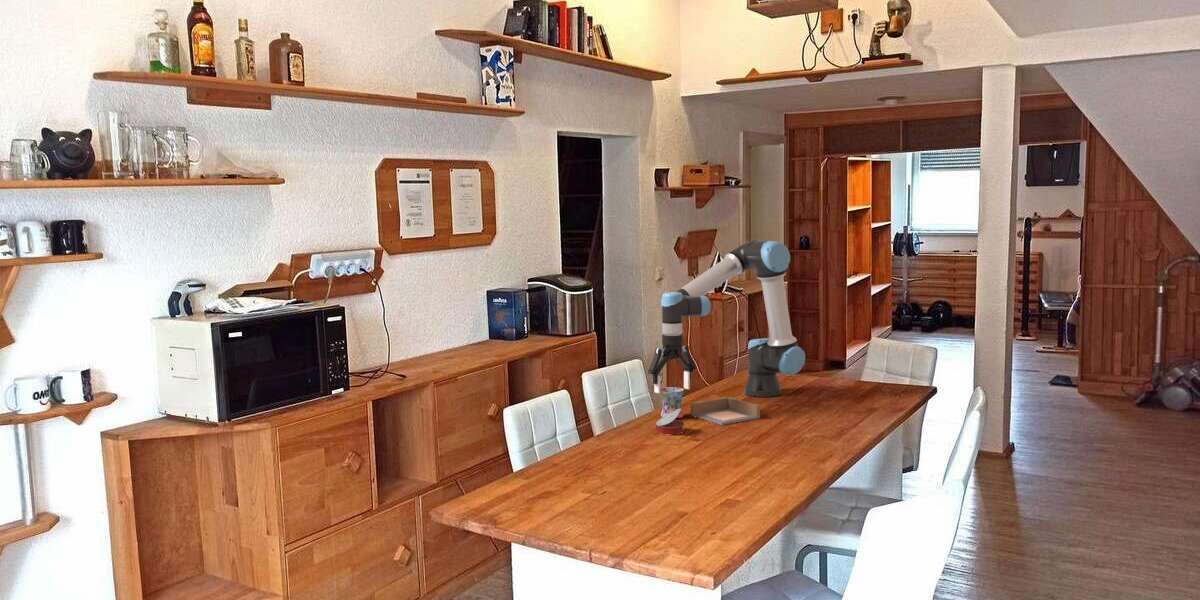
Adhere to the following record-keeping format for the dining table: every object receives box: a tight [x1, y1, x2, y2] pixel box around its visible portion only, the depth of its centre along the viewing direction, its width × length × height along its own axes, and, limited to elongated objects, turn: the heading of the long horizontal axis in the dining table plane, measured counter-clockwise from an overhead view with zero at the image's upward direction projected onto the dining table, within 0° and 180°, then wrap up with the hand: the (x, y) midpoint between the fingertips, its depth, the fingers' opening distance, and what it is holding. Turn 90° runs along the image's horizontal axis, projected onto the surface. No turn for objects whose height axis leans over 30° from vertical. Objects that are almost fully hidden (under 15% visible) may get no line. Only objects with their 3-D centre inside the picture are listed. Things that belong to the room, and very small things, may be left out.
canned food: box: [655, 408, 685, 435], centre depth 319 cm, size 11×10×10 cm
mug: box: [659, 386, 685, 419], centre depth 341 cm, size 12×9×11 cm
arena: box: [690, 396, 761, 426], centre depth 339 cm, size 18×18×5 cm
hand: (672, 390), depth 340 cm, fingers open, 13 cm apart
